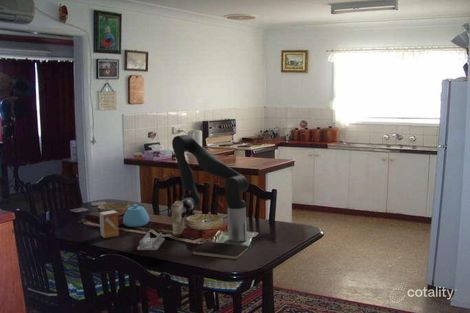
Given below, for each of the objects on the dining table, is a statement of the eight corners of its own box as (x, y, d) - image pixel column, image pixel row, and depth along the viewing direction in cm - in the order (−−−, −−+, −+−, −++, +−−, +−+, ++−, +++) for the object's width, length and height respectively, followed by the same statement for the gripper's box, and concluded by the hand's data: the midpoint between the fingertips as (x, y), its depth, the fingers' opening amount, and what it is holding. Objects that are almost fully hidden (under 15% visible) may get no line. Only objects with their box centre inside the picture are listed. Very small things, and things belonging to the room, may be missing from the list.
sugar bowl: (154, 222, 311) (153, 203, 309) (137, 229, 298) (136, 209, 296) (135, 219, 319) (134, 200, 317) (117, 225, 306) (116, 206, 304)
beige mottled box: (184, 228, 263) (182, 200, 261) (180, 234, 254) (178, 205, 252) (177, 228, 264) (176, 200, 262) (173, 234, 254) (171, 205, 252)
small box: (104, 238, 282) (103, 214, 280) (100, 235, 287) (99, 212, 285) (119, 235, 286) (117, 212, 284) (114, 233, 291) (113, 209, 289)
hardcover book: (236, 260, 244) (236, 255, 244) (192, 255, 253) (192, 250, 253) (249, 249, 259) (249, 245, 259) (206, 245, 268) (206, 240, 267)
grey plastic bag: (164, 240, 276) (164, 232, 276) (157, 250, 261) (156, 242, 260) (145, 239, 277) (145, 232, 277) (137, 249, 262) (136, 242, 261)
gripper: (171, 200, 275) (163, 208, 258) (198, 200, 273) (192, 208, 256) (172, 214, 276) (164, 223, 259) (198, 214, 274) (192, 223, 257)
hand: (178, 216), depth 258 cm, fingers closed on beige mottled box, 3 cm apart
